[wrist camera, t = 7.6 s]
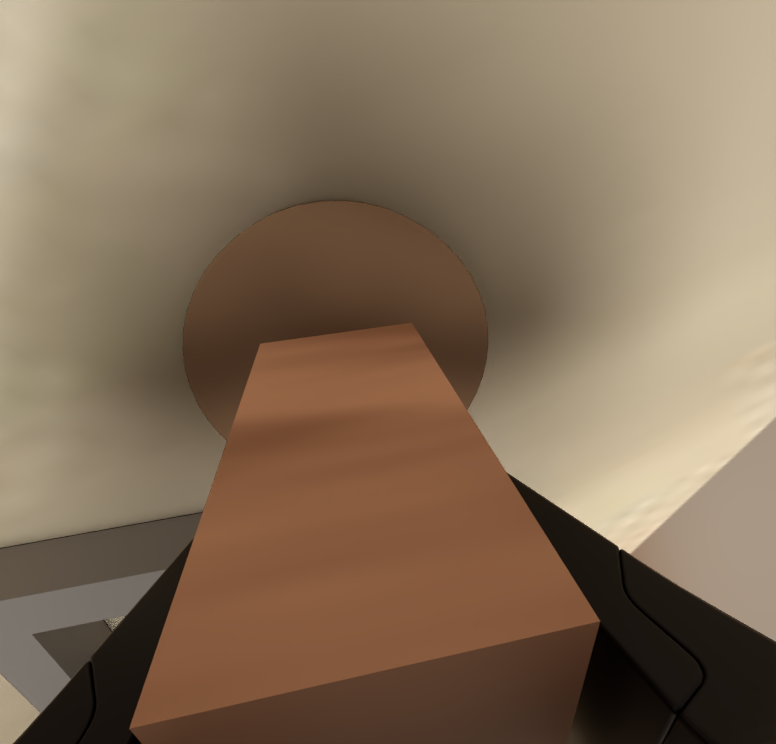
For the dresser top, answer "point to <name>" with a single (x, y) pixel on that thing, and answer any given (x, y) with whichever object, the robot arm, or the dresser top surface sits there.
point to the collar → (76, 597)
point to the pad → (328, 296)
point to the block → (365, 570)
